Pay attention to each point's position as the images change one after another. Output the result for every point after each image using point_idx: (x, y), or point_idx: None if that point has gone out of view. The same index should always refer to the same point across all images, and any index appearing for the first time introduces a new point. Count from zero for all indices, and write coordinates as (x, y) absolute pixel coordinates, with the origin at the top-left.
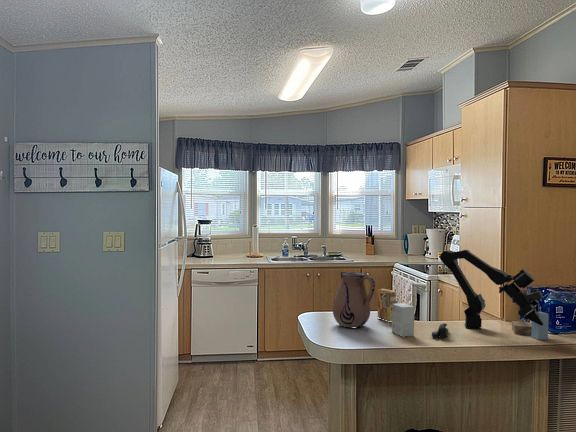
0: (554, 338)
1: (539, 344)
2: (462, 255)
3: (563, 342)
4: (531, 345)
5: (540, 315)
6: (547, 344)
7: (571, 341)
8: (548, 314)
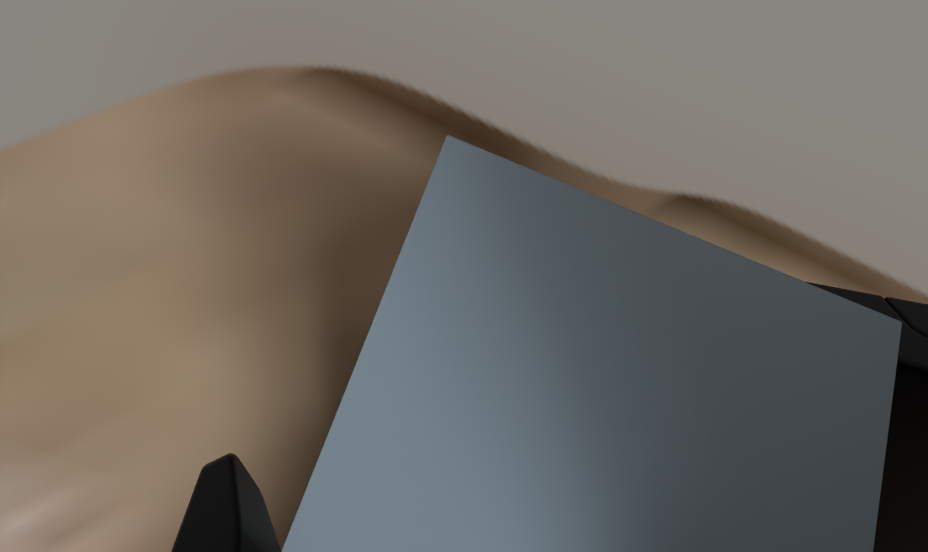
0: (180, 331)
1: (711, 240)
2: None
3: (294, 139)
4: (840, 260)
5: (797, 304)
6: (611, 192)
7: (107, 108)
8: (452, 144)
